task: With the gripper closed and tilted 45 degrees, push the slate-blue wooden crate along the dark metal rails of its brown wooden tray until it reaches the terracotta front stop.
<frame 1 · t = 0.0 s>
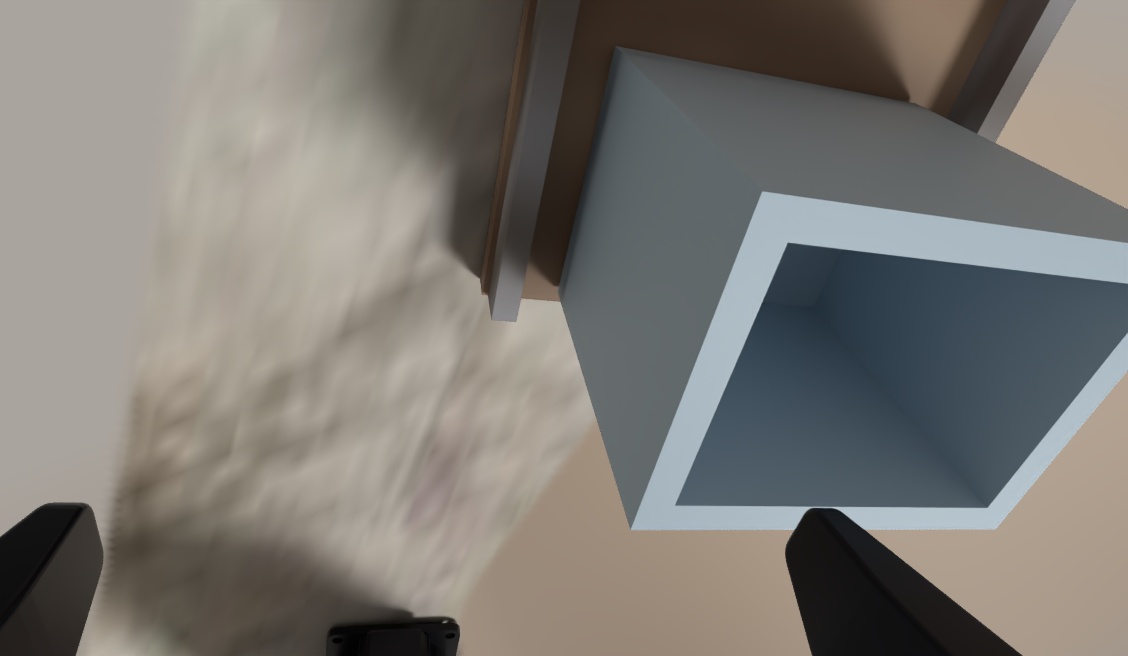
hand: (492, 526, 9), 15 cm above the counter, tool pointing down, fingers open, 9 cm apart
crate: (798, 279, 18), point 6 cm above the counter, slide at 0.0 cm
brown wooden tray: (761, 57, 21), on the counter
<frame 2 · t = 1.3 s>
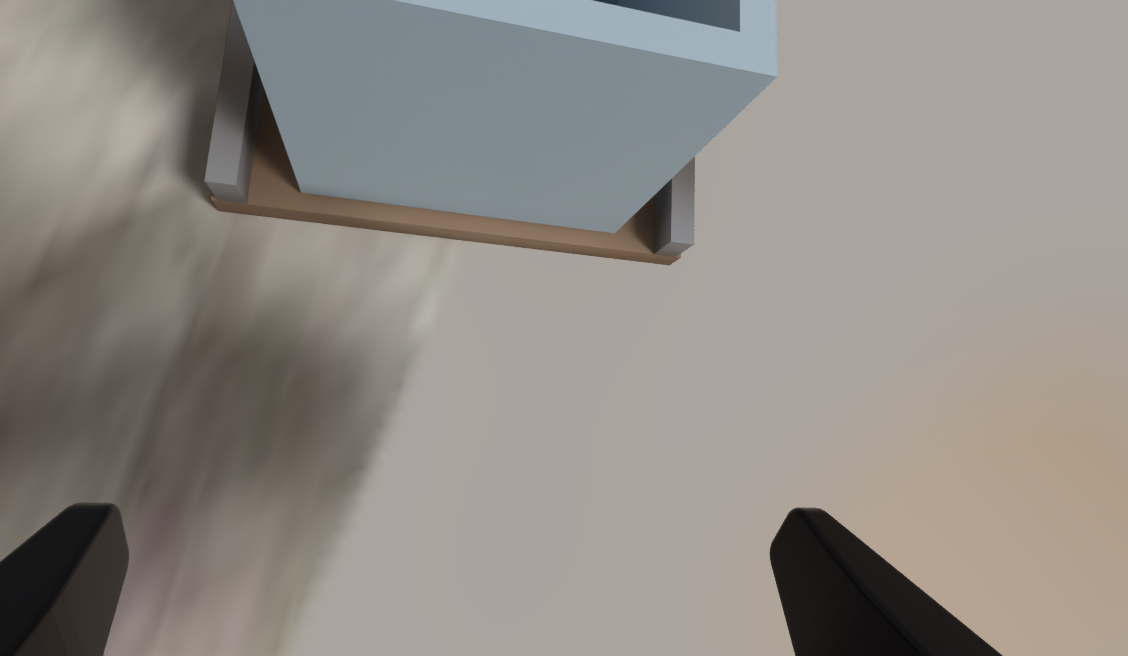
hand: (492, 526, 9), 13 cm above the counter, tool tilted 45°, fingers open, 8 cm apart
crate: (498, 4, 17), point 6 cm above the counter, slide at 0.0 cm
brown wooden tray: (479, 8, 24), on the counter
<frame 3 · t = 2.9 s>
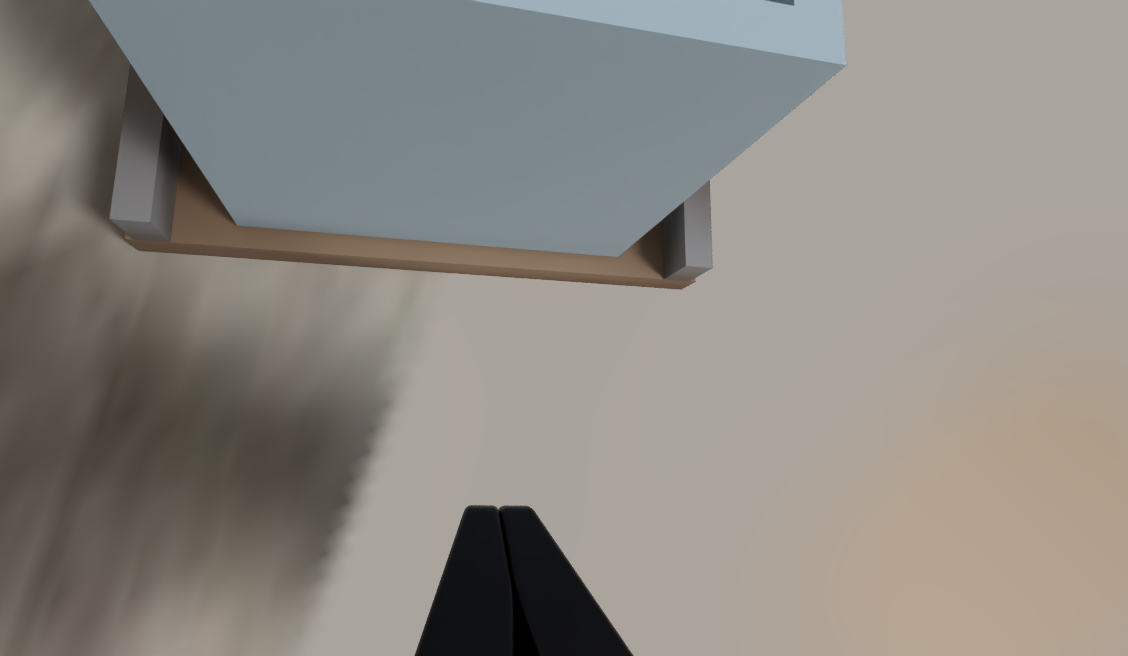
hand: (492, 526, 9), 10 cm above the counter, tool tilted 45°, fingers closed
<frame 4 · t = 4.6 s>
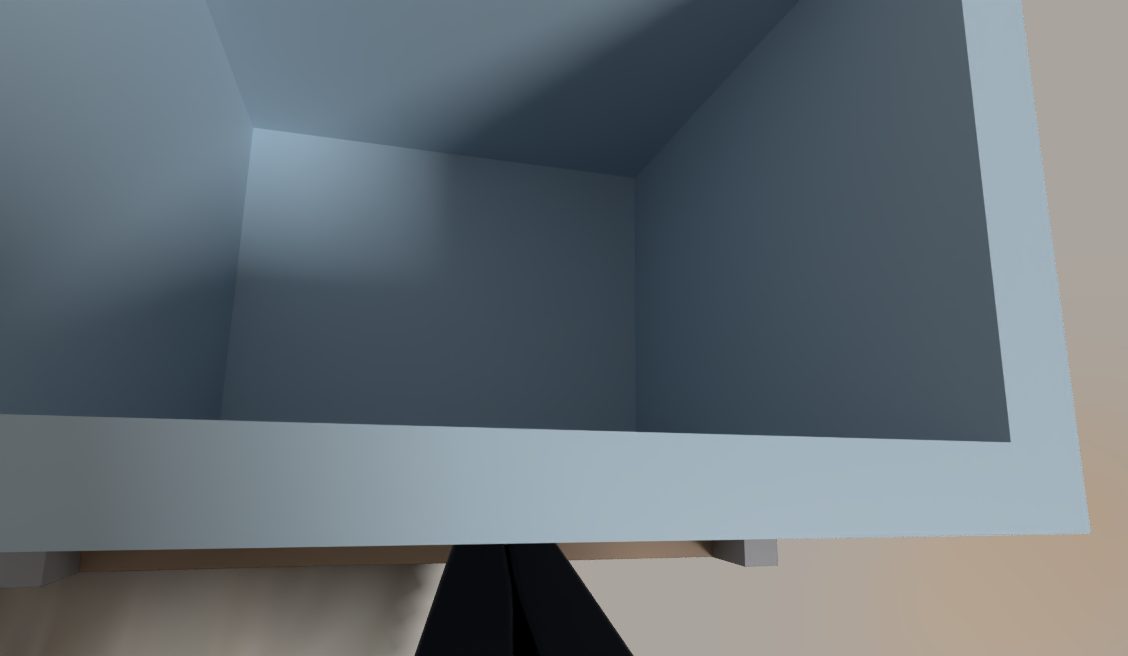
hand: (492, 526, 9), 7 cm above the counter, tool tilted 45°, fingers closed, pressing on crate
crate: (479, 231, 10), point 6 cm above the counter, slide at 1.1 cm, touching gripper
brown wooden tray: (448, 191, 17), on the counter
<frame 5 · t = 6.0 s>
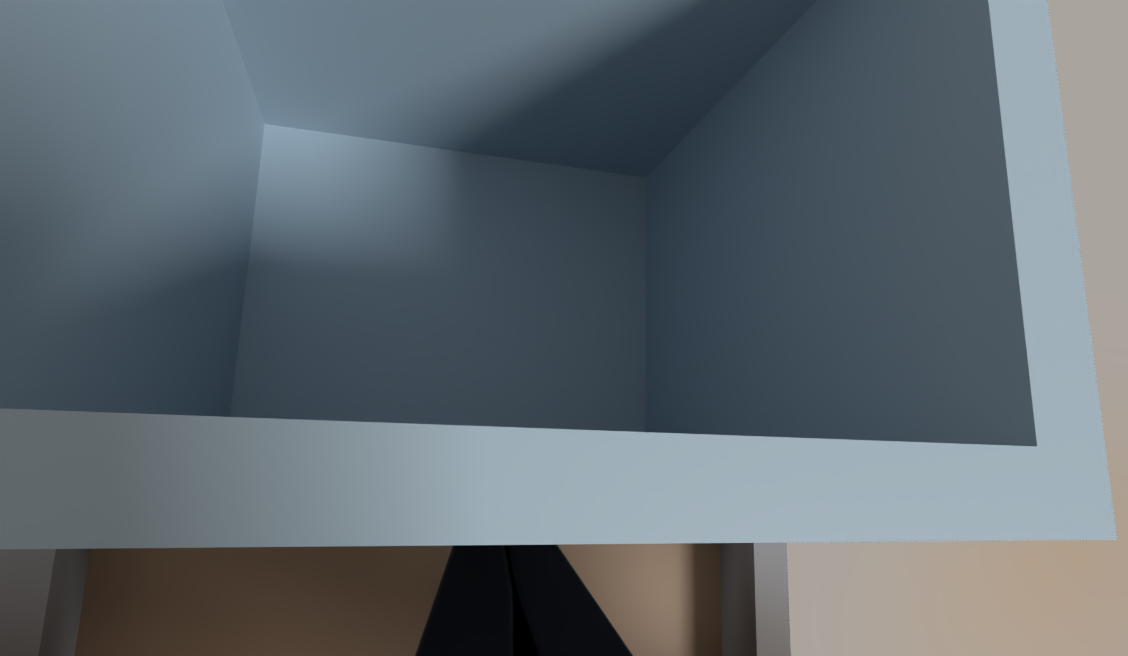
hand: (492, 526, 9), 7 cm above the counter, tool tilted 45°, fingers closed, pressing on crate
crate: (493, 229, 10), point 6 cm above the counter, slide at 6.3 cm, touching gripper
brown wooden tray: (446, 395, 16), on the counter
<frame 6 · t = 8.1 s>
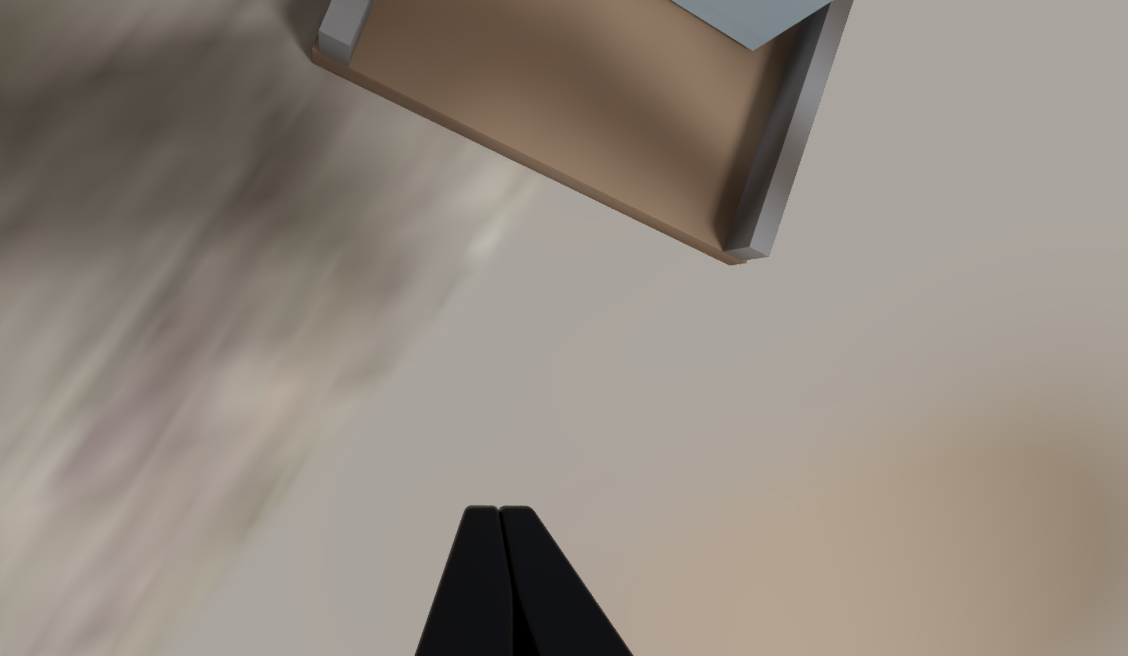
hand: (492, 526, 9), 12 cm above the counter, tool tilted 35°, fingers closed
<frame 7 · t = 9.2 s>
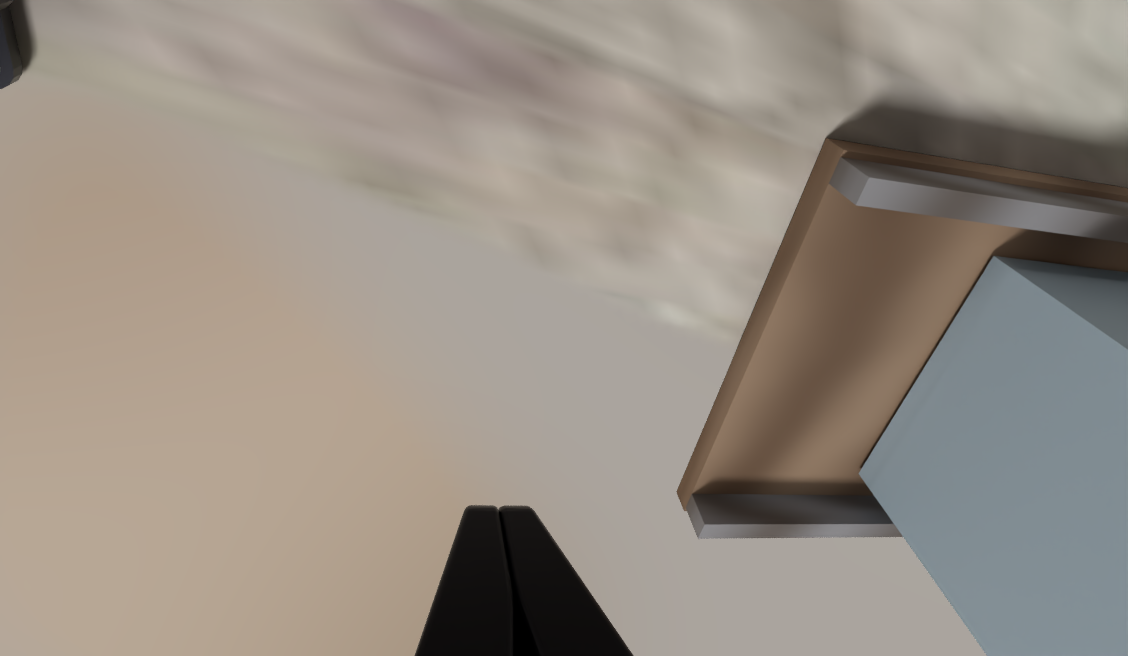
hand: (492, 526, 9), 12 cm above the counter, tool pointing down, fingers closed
crate: (1116, 481, 21), point 6 cm above the counter, slide at 6.3 cm
brown wooden tray: (942, 359, 26), on the counter
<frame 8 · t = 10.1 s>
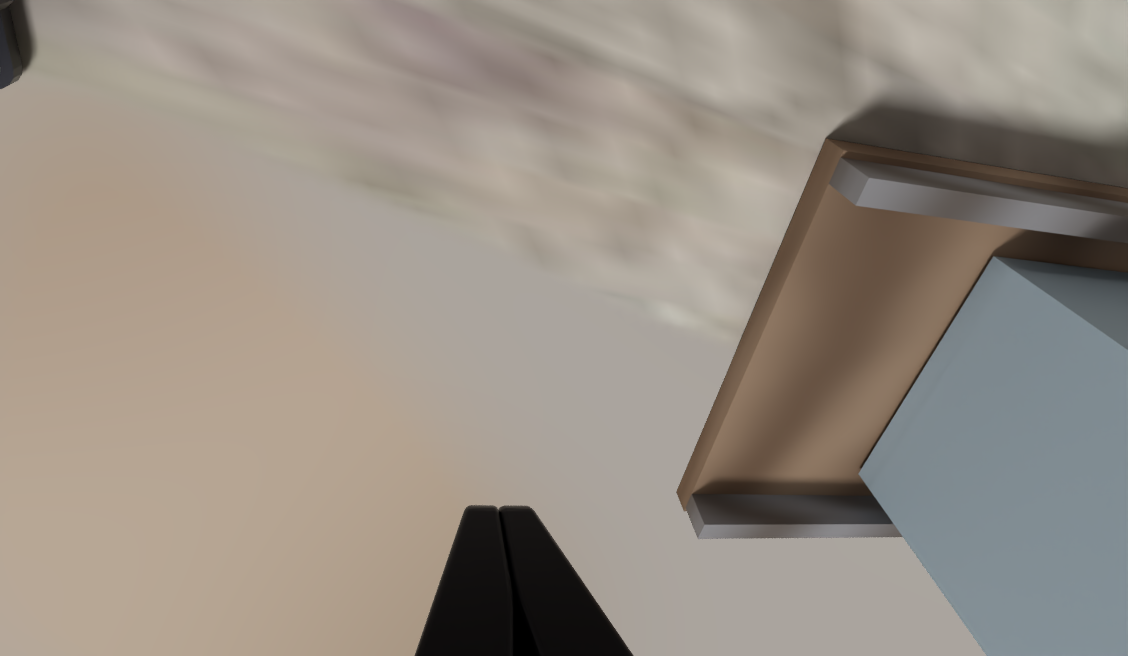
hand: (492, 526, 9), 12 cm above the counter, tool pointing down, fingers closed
crate: (1116, 481, 21), point 6 cm above the counter, slide at 6.3 cm
brown wooden tray: (942, 360, 26), on the counter
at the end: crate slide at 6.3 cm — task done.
